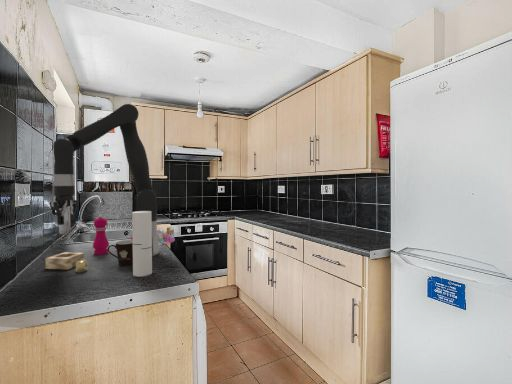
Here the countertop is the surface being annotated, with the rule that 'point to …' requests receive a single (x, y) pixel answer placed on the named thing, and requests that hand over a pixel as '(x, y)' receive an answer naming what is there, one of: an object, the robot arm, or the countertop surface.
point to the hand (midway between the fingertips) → (65, 223)
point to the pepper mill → (100, 236)
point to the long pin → (65, 222)
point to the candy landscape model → (164, 236)
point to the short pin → (81, 266)
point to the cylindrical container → (142, 243)
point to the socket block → (64, 260)
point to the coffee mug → (124, 252)
